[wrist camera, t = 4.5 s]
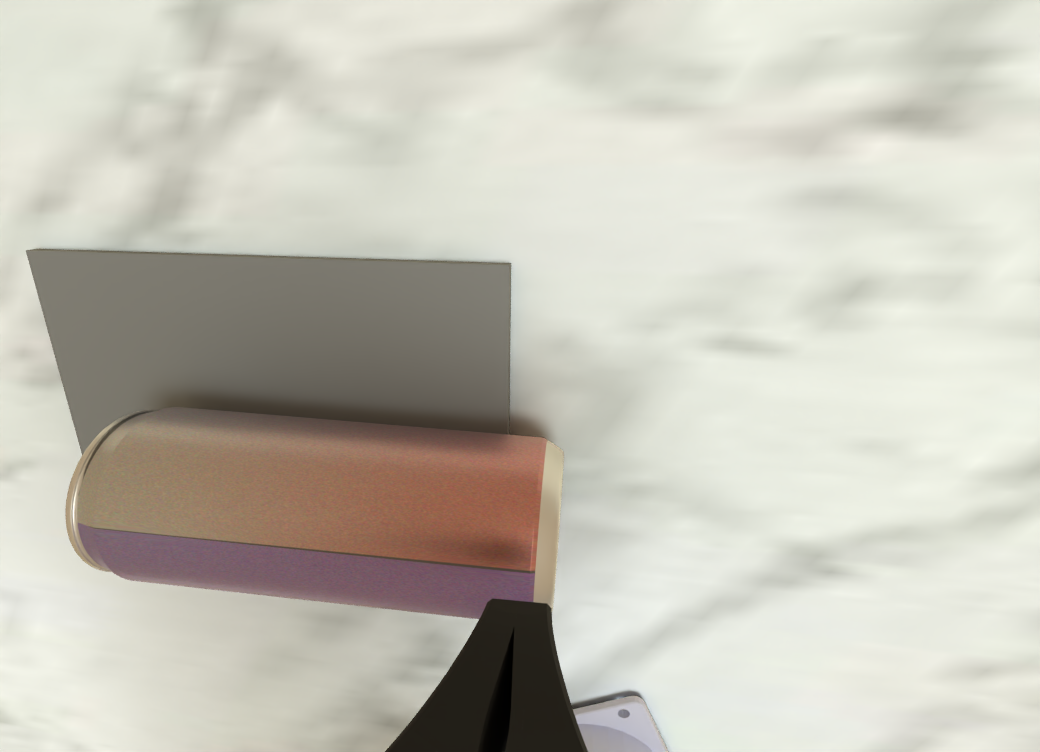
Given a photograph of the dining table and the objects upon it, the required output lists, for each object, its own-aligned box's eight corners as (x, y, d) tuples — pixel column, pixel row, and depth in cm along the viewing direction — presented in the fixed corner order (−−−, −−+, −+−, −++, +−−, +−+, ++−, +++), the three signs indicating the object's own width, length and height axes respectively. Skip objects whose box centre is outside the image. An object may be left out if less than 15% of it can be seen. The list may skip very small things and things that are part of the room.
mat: (511, 263, 19) (509, 264, 18) (507, 592, 23) (506, 600, 23) (38, 249, 20) (25, 250, 20) (121, 558, 25) (112, 565, 25)
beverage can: (548, 671, 16) (66, 615, 17) (554, 566, 21) (196, 529, 23) (563, 474, 15) (49, 429, 16) (565, 420, 20) (190, 389, 22)
